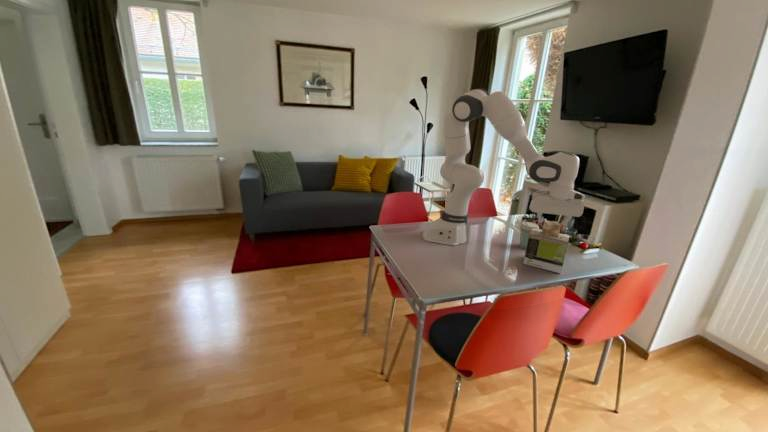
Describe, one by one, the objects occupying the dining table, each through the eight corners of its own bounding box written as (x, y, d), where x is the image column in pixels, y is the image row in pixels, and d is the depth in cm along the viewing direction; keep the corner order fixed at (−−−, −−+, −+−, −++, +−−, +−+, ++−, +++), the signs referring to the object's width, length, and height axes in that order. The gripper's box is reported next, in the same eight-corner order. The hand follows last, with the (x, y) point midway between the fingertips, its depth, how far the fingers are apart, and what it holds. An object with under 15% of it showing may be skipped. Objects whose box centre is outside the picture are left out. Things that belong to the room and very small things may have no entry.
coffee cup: (520, 242, 165) (525, 220, 161) (537, 247, 159) (542, 225, 155) (513, 246, 159) (518, 223, 155) (530, 252, 153) (536, 228, 149)
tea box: (562, 265, 141) (570, 234, 136) (560, 274, 133) (569, 242, 128) (526, 256, 149) (532, 226, 144) (522, 264, 140) (529, 233, 136)
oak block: (545, 235, 134) (548, 224, 132) (541, 231, 138) (544, 220, 137) (558, 236, 133) (561, 225, 132) (553, 232, 138) (556, 221, 136)
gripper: (536, 191, 128) (528, 223, 133) (589, 196, 126) (580, 229, 131) (531, 188, 134) (524, 218, 139) (582, 192, 132) (573, 223, 137)
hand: (551, 223), depth 135 cm, fingers open, 8 cm apart
